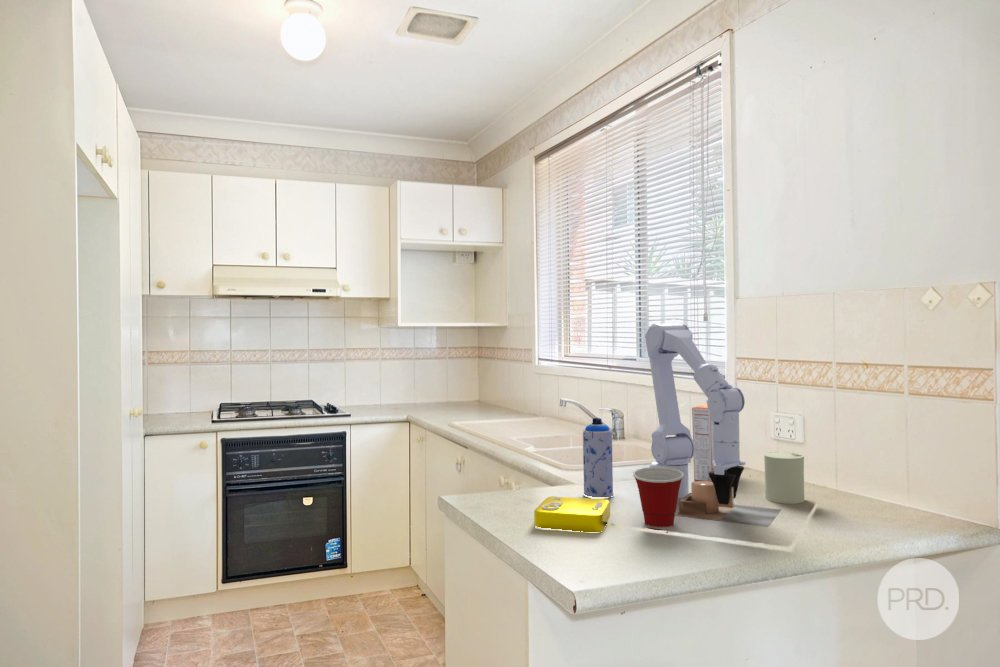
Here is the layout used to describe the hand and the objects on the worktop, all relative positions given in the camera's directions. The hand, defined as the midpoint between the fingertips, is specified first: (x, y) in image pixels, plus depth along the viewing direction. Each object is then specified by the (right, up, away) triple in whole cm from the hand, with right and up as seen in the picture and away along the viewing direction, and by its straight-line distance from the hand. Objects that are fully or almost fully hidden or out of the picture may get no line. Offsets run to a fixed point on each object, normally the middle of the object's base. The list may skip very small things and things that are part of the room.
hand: (727, 500), depth 161 cm
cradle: (0, -3, 0) cm, 3 cm away
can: (+18, -3, +11) cm, 21 cm away
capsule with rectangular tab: (-3, -3, +2) cm, 4 cm away
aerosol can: (-26, -4, +22) cm, 34 cm away
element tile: (-35, -5, -3) cm, 36 cm away
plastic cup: (-17, -4, -8) cm, 20 cm away
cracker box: (+9, -3, +41) cm, 42 cm away
